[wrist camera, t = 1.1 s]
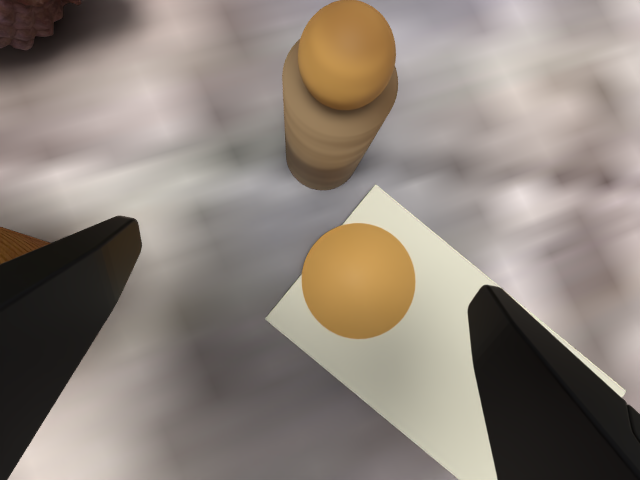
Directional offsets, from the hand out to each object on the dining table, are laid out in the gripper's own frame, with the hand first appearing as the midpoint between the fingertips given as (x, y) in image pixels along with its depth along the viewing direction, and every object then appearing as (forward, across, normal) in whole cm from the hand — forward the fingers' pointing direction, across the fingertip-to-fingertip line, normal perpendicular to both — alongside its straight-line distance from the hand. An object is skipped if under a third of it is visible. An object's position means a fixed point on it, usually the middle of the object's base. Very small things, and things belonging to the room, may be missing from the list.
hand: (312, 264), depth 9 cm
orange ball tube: (+15, 0, +4) cm, 15 cm away
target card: (+7, -10, +12) cm, 17 cm away
